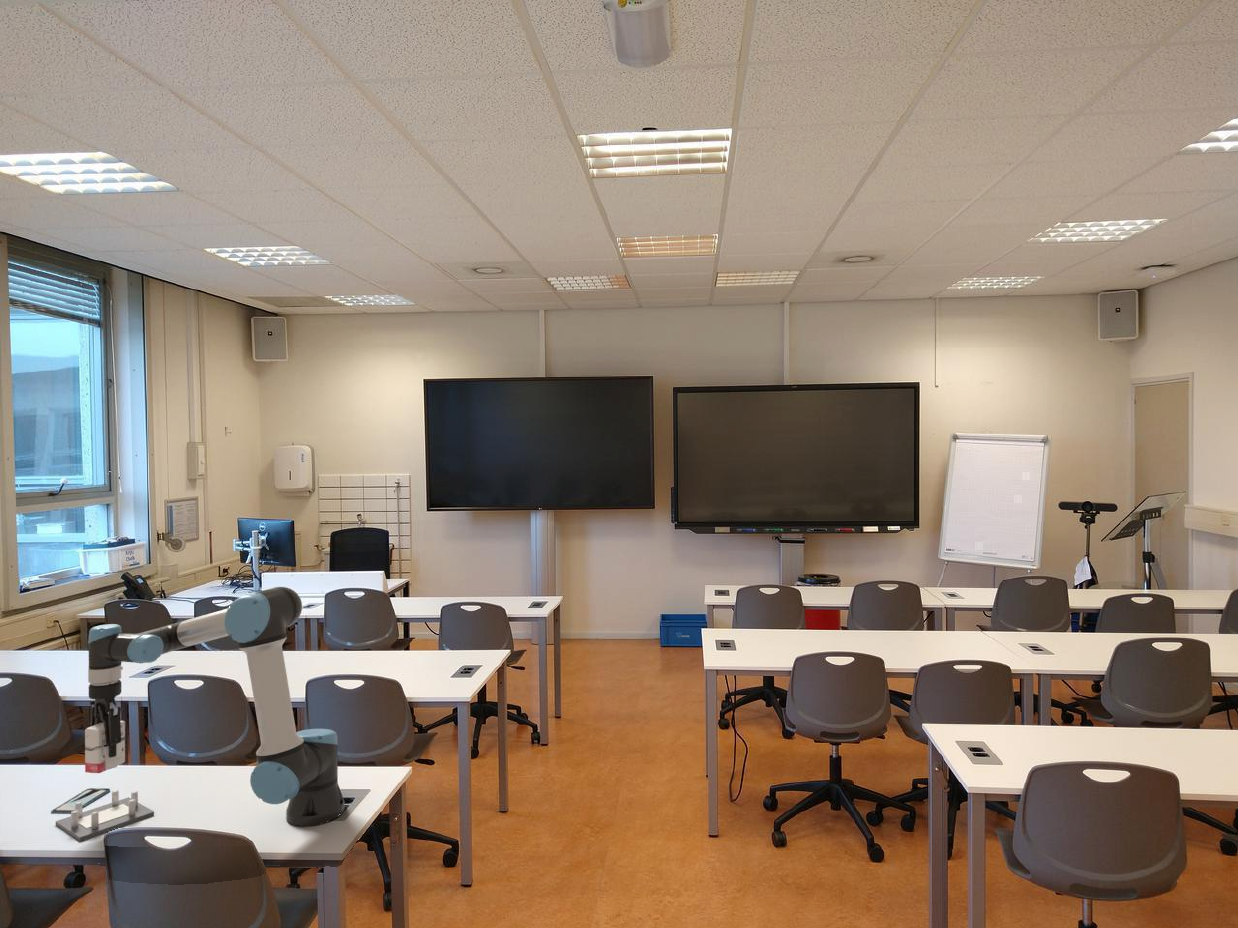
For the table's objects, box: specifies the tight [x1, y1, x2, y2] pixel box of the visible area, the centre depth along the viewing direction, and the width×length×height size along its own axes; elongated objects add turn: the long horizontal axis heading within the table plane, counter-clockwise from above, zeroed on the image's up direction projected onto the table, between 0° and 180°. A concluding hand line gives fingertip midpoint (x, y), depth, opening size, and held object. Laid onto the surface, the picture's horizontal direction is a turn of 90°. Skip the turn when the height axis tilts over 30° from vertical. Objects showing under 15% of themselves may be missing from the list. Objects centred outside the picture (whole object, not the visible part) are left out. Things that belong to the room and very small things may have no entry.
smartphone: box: [50, 787, 111, 814], centre depth 221 cm, size 7×1×15 cm
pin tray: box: [55, 789, 155, 842], centre depth 210 cm, size 16×18×5 cm
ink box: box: [84, 720, 126, 774], centre depth 209 cm, size 9×5×12 cm, turn 167°
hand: (105, 764), depth 209 cm, fingers closed on ink box, 6 cm apart
